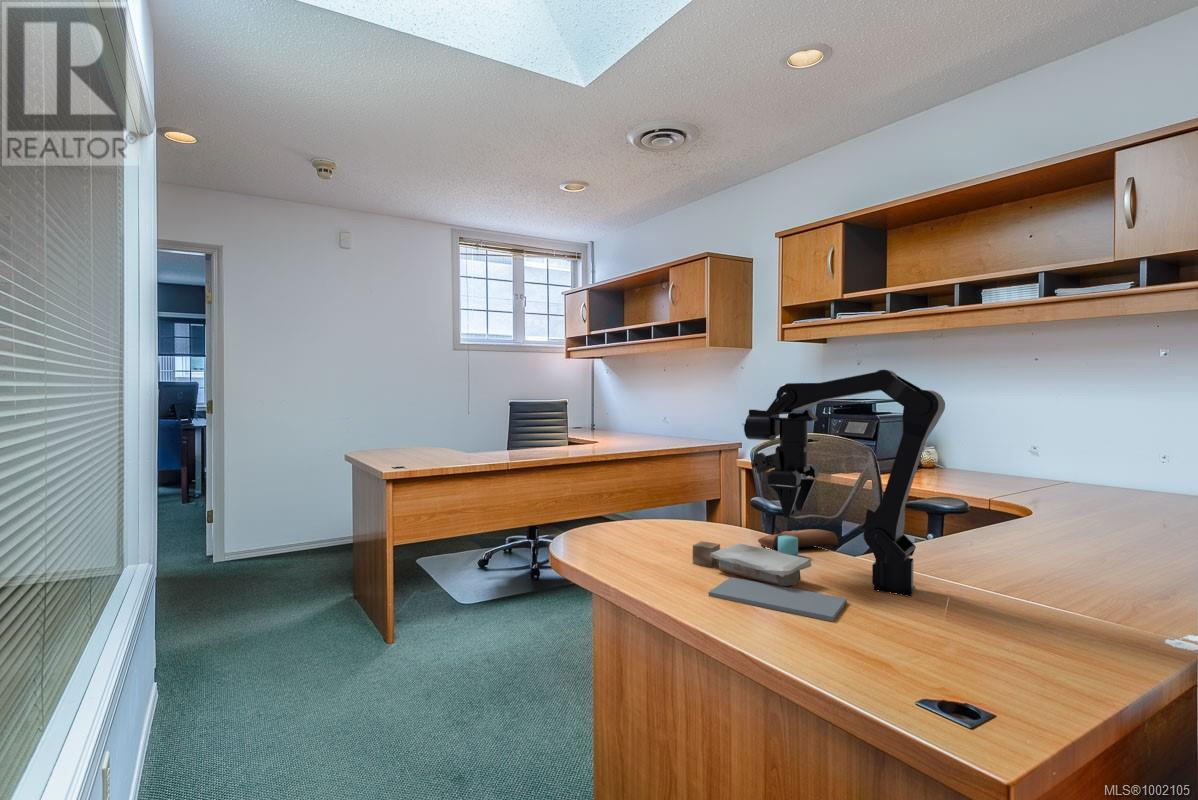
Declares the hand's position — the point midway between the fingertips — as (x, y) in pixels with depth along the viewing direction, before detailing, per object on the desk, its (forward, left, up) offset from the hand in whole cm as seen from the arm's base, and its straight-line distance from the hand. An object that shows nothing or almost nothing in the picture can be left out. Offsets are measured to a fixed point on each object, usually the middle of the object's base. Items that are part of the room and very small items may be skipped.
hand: (793, 513), depth 127 cm
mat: (-3, +21, -12) cm, 24 cm away
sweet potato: (+6, -21, -13) cm, 25 cm away
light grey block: (+3, +5, -9) cm, 11 cm away
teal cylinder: (+4, -10, -12) cm, 16 cm away
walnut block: (+17, +7, -12) cm, 22 cm away
